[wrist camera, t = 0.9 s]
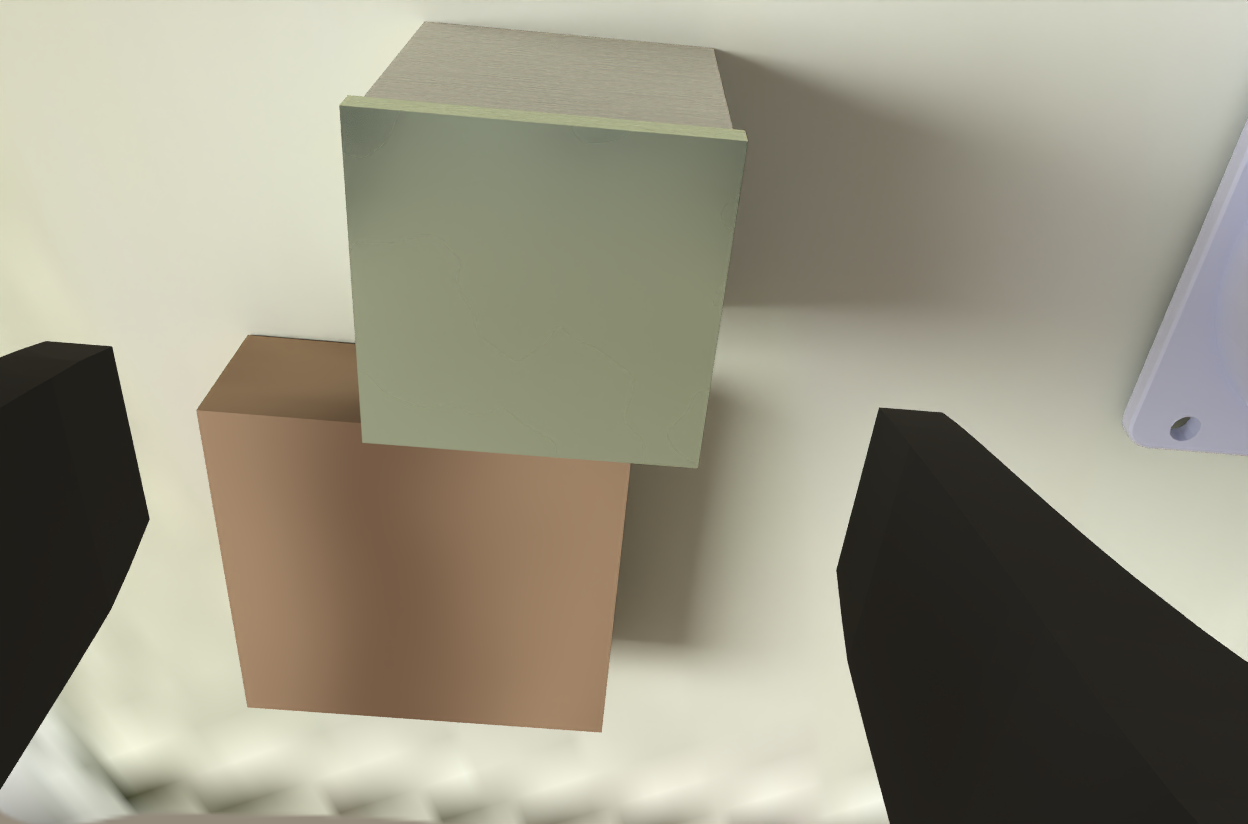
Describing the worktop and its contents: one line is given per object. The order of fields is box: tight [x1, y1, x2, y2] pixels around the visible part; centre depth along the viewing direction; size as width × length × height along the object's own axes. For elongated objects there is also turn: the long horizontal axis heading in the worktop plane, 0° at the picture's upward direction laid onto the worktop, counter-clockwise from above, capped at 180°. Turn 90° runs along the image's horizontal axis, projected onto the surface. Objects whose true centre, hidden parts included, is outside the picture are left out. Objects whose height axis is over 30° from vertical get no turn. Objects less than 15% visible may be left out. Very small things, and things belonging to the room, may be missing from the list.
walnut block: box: [197, 335, 631, 732], centre depth 19 cm, size 7×7×2 cm
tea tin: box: [339, 22, 748, 468], centre depth 15 cm, size 5×5×5 cm
